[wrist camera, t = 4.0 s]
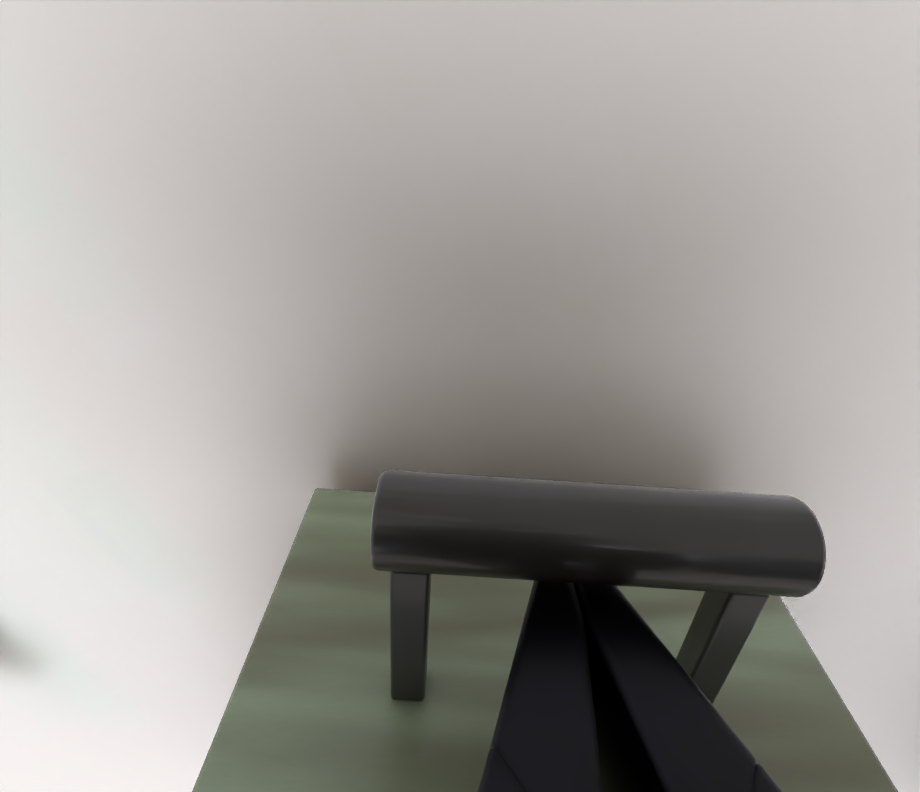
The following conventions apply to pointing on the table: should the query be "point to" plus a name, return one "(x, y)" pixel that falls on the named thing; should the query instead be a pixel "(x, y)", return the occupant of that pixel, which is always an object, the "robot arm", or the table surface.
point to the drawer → (499, 625)
